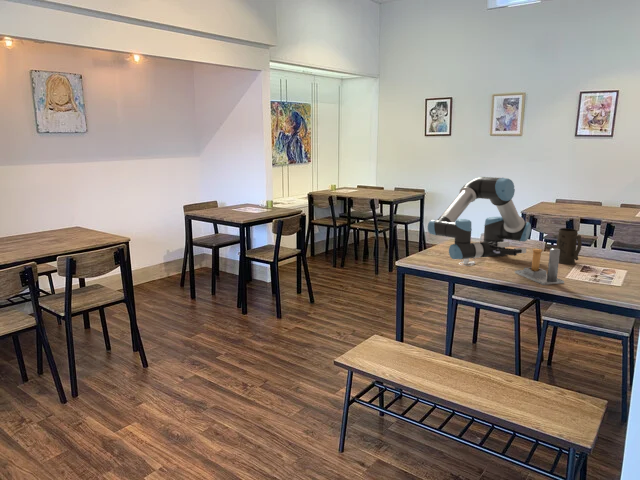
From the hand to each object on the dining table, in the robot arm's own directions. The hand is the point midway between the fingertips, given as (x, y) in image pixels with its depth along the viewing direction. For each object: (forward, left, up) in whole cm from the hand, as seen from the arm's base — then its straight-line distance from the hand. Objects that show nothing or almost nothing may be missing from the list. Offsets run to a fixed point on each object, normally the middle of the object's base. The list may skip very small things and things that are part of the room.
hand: (517, 247), depth 236 cm
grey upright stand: (+4, +11, -16) cm, 20 cm away
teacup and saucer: (-26, -10, -17) cm, 33 cm away
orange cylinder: (+1, +11, -15) cm, 18 cm away
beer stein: (-18, +48, -16) cm, 54 cm away
